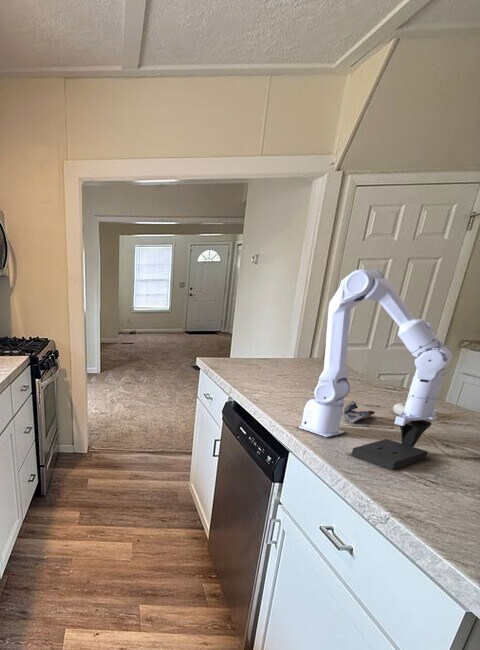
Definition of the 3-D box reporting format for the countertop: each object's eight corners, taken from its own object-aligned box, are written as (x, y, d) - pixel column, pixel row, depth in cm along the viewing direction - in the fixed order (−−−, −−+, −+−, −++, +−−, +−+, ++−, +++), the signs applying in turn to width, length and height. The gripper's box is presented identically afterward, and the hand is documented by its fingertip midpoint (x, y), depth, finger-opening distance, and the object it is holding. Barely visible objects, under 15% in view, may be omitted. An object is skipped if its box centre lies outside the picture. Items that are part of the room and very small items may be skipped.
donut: (385, 410, 138) (401, 419, 129) (388, 400, 137) (404, 408, 127) (418, 411, 136) (436, 420, 127) (420, 401, 135) (439, 409, 126)
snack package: (326, 416, 133) (360, 426, 122) (332, 397, 131) (367, 405, 121) (349, 417, 137) (384, 427, 127) (355, 399, 136) (391, 407, 126)
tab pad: (363, 451, 105) (365, 444, 104) (384, 445, 108) (386, 438, 108) (405, 465, 96) (407, 458, 96) (425, 458, 100) (428, 451, 99)
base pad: (351, 455, 103) (352, 448, 102) (368, 450, 106) (369, 443, 105) (392, 470, 94) (394, 462, 94) (409, 464, 97) (411, 456, 96)
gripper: (424, 404, 93) (407, 457, 98) (457, 396, 99) (440, 447, 104) (392, 397, 99) (378, 448, 104) (425, 390, 104) (410, 438, 110)
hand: (407, 447), depth 104 cm, fingers closed
